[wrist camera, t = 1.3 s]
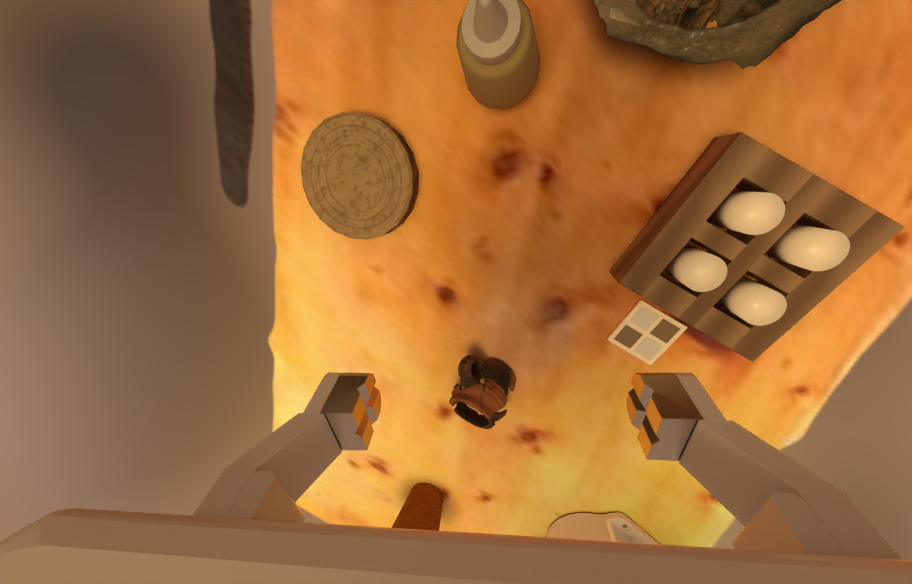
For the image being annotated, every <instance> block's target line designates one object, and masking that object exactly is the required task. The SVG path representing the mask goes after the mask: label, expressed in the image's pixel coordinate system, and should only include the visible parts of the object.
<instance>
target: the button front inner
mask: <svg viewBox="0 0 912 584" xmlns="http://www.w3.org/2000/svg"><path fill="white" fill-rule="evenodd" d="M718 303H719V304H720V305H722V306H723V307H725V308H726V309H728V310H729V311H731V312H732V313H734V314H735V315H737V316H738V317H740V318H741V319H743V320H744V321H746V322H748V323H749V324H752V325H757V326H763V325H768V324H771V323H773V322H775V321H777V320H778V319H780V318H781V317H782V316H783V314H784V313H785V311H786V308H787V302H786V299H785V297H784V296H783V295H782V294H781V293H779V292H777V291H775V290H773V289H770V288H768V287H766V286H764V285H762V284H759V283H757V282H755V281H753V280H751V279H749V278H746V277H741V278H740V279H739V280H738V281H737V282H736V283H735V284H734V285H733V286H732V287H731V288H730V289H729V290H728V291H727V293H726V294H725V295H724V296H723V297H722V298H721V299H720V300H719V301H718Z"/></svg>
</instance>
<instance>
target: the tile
mask: <svg viewBox="0 0 912 584" xmlns="http://www.w3.org/2000/svg"><path fill="white" fill-rule="evenodd" d="M687 328H688V327H687V326H685V325H683V324H682V323H680V322H678V321H677V320H675V319H673V318H671V317H670V316H668V315H666V314H665V313H663V312H661V311H660V310H658V309H656V308H654V307H653V306H651V305H649V304H648V303H646V302H644V301H643V300H641V299H640V300H639V301H638V303H637V304H636V305H635V306H634V307H633V308H632V310H631V311H630V312H629V313H628V314H627V315H626V316H625V318H624V319H623V320H622V321H621V322H620V323H619V325H618V326H617V327H616V328H615V329H614V330H613V332H612V333H611V334H610V335H609V336H608V337H607V340H608V341H610V342H612V343H613V344H615V345H617V346H618V347H620V348H622V349H623V350H625V351H627V352H628V353H630V354H632V355H633V356H635V357H637V358H639V359H640V360H642V361H644V362H645V363H647V364H649V365H650V366H651V365H652V364H653V363H654V362H655V361H656V360H657V359H658V358H659V357H660V356H661V354H662V353H663V352H664V351H665V350H666V349H667V348H668V347H669V346H670V345H671V344H672V343H673V342H674V341H675V340H676V339H677V338H678V337H679V336H680V335H681V334H682V333H683V332H684V331H685V330H686V329H687Z"/></svg>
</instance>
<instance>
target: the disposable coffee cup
mask: <svg viewBox="0 0 912 584" xmlns="http://www.w3.org/2000/svg"><path fill="white" fill-rule="evenodd" d="M442 503H443V496H442V493H441V492H440V491H439V489H437V488H436V487H435V486H433V485H431V484H427V483H419V484H416V485H415V486H414V487H413V488H412V490H411V492H410V494H409V496H408V498H407V500H406V502H405V504H404V505H403V507H402V509H401V511H400V513H399V515H398V517H397V519H396V520H395V522H394V524H393V526H392V528H401V529H418V530H434V531H439V526H440V518H441V510H442Z"/></svg>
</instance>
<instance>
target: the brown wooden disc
mask: <svg viewBox="0 0 912 584" xmlns="http://www.w3.org/2000/svg"><path fill="white" fill-rule="evenodd" d="M301 173H302V183H303V188H304V191H305V193H306V196H307V199H308V201H309V204H310V205H311V207H312V208H313V210H314V211H315V213H316V214H317V215H318V217H319V218H320V220H322V221H323V222H324V223H325V224H326V225H328V226H329V227H330V228H331V229H332V230H333V231H335V232H337V233H340V234H342V235H344V236H347V237H349V238H356V239H370V238H374V237H378V236H382V235H384V234H387V233H389V232H391V231H393V230H394V229H395V228H397V227H398V226H400V225H401V224H403V223H404V221H405V220H406V218H407V217H408V216H409V214H410V213H411V211H412V210H413V207H414V204H415V201H416V198H417V195H418V169H417V166H416V162H415V158H414V155H413V152H412V151H411V149H410V148H409V146H408V144H407V143H406V141H405V140H404V138H403V136H402V135H400V134H399V133H398V132H397V131H396V130H395V129H394V128H392V127H391V126H390V125H389V124H388V123H385V122H383V121H380V120H378V119H375V118H373V117H370V116H368V115H365V114H363V113H346V112H342V113H340V114H337V115H334V116H332V117H329V118H327V119H325V120H324V121H323V122H322V123H321V124H320V125H319V126H318V127H317V128H315V129H314V130H313V131H312V133H311V135H310V137H309V139H308V141H307V143H306V145H305V147H304V151H303V157H302V163H301Z"/></svg>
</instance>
